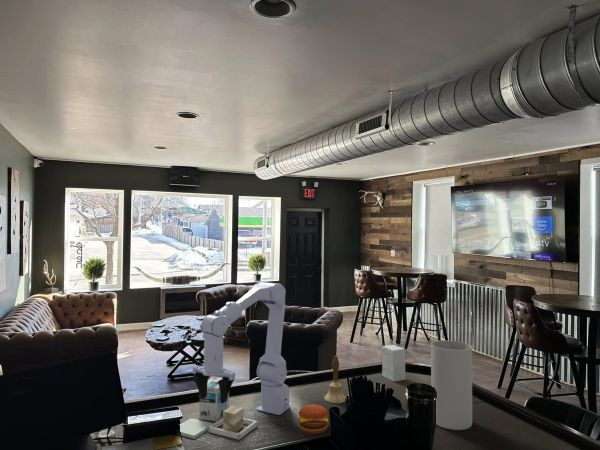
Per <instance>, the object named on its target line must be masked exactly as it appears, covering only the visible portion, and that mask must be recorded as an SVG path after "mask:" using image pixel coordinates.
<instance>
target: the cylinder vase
mask: <svg viewBox="0 0 600 450" xmlns="http://www.w3.org/2000/svg"><path fill="white" fill-rule="evenodd" d="M430 344H431V345H430V360H431V361H430V363H431V364H430V371H431V372H430V375H431V377H430V380H431V383H430V384H431V386H432V387H434V388H435V389H436V392H437V398H436V426H438V427H441V428H443V429H446V430H452V431H465V430H468V429H470V428H471V427H472V426H473V362H472V361H473V351H472V350H473V346H472V345H471V344H469V343H466V342H462V341H457V340H445V339H444V340H443V339H441V340H440V339H439V340H434V341H432V342H431V343H430ZM431 386H430V387H431Z"/></svg>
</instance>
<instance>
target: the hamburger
mask: <svg viewBox="0 0 600 450" xmlns="http://www.w3.org/2000/svg"><path fill="white" fill-rule="evenodd" d="M328 415H329V411H328V409H326V408H325V407H324V406H323V405H319V404H307V405H304V406H302V407H301V408H300V409H299V410H298V421H299V422H298V423H299V424H298V428H299V430H300V431H302V432H303V433H306V434H312V435H316V434H321V433H324V432H326V431H327V430H328V423H329V418H328Z"/></svg>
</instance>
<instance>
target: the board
mask: <svg viewBox="0 0 600 450" xmlns="http://www.w3.org/2000/svg"><path fill="white" fill-rule="evenodd" d="M213 424H214V423H213V422H208V421H206V420H200V419H197V418H189V419H187V420H185V421H183V422H182V423H180V424H179V425H180V432H181V435H180V436H181V437H185V438H186V437H187V438H189V439H195V440H196V439H197V438H198V437H200V436H201V435H203V434H204V433H206V432H208V430H209V426H211V425H213Z"/></svg>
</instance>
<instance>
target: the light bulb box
mask: <svg viewBox="0 0 600 450" xmlns="http://www.w3.org/2000/svg"><path fill="white" fill-rule="evenodd" d="M221 379H222V378H221V377H215V376H211V377H210V378H208V383H207V396H206V397H205V398H203V399H201V398H200V397H199V406H198V409H199V410H198V413H199V416H198V417H199V419H198V420H201V421H212V422H217V421H219V420H220V419H222V418H223V411H225V410H227V409H228V408H230V392H229V393H228V397H227V401H226V402H224V403H221V400H220V388H219V384H218V381H219V380H221Z"/></svg>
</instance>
